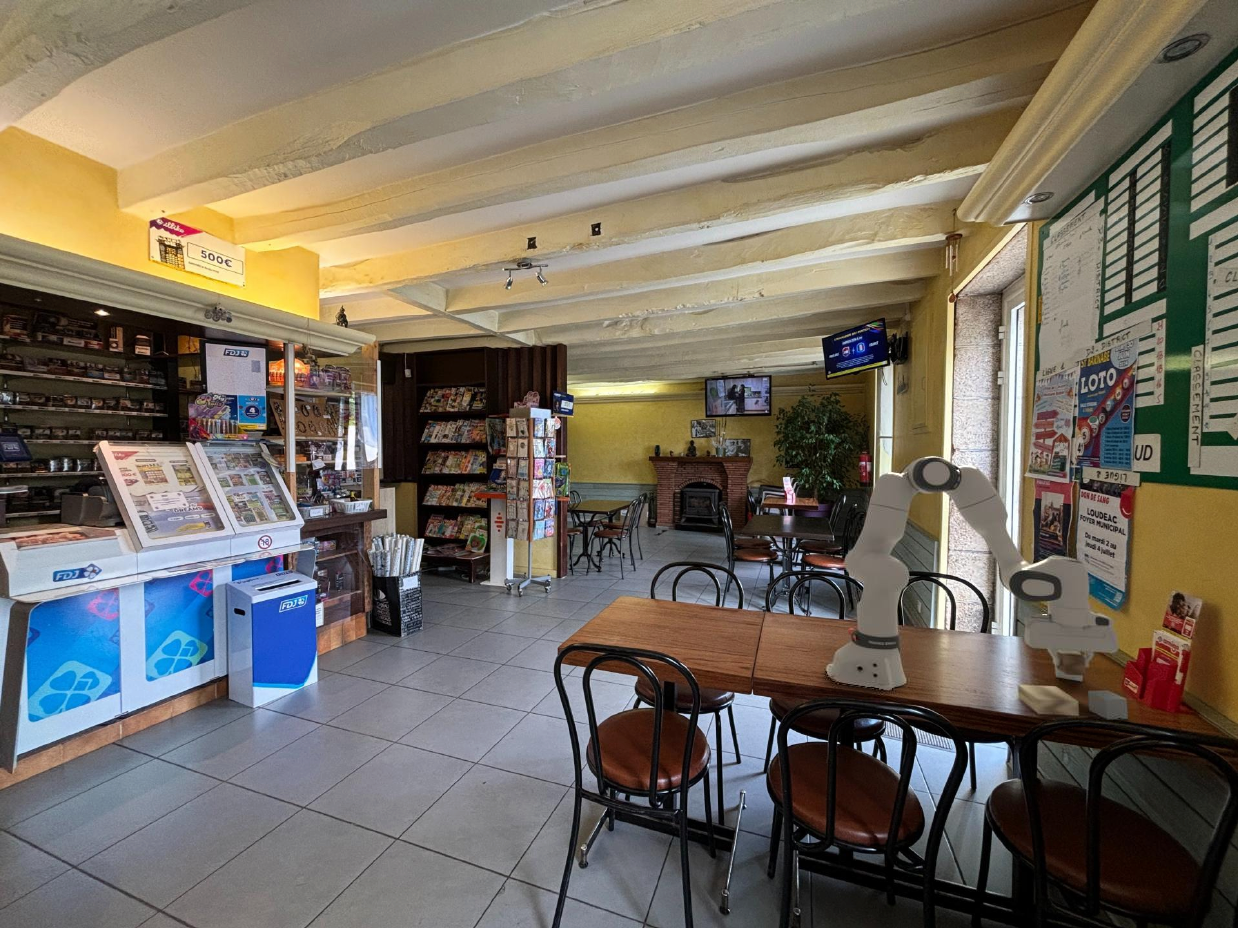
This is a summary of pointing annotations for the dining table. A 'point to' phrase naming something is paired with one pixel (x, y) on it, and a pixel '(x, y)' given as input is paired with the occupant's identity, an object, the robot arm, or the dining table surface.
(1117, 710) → the slate cube
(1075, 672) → the walnut block
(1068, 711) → the maple pedestal
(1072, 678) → the skincare box
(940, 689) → the dining table surface
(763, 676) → the dining table surface
